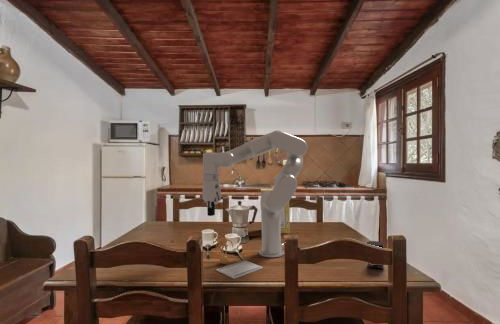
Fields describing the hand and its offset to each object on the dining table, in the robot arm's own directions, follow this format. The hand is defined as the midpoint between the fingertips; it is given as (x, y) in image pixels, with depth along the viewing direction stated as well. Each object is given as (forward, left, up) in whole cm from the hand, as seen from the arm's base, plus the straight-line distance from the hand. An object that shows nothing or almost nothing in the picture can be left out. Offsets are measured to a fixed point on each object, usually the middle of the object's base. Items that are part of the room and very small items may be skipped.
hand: (211, 215), depth 138 cm
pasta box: (-60, -14, -21) cm, 65 cm away
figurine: (0, +10, -21) cm, 23 cm away
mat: (0, +21, -21) cm, 30 cm away
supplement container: (-44, +60, -21) cm, 78 cm away
